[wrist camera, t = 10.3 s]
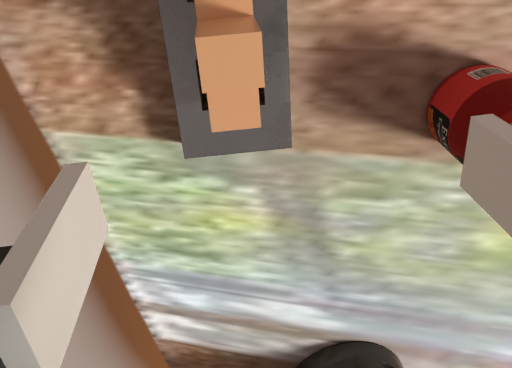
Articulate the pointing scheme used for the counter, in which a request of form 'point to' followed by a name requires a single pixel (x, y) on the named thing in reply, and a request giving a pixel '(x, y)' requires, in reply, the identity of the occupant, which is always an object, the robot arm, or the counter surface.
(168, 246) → the counter surface
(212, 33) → the clip
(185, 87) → the grey slotted base
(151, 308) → the counter surface
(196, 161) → the counter surface
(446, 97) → the canned food
